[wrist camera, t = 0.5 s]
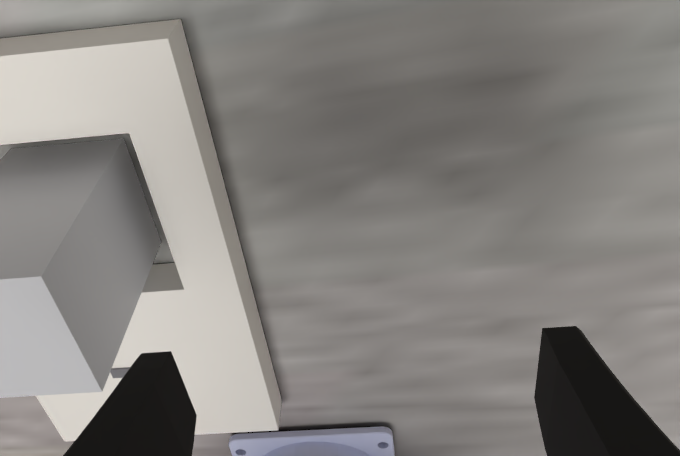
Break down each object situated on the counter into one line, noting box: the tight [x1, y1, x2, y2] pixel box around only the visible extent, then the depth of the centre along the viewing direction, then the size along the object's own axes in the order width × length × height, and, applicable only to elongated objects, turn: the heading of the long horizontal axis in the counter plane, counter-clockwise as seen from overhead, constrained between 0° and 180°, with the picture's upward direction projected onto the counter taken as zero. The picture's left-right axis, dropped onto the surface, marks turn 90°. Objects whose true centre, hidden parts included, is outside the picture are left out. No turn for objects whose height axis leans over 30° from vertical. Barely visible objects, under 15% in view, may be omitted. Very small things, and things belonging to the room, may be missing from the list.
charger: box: [0, 138, 161, 398], centre depth 20 cm, size 4×4×7 cm
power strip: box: [0, 19, 282, 441], centre depth 24 cm, size 18×10×2 cm, turn 6°
